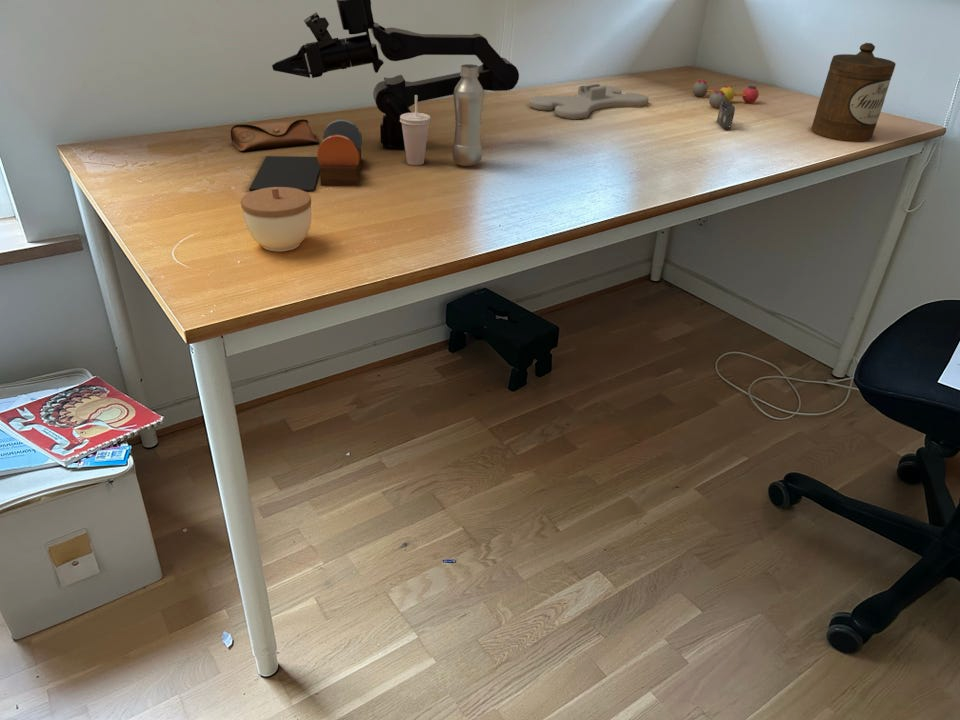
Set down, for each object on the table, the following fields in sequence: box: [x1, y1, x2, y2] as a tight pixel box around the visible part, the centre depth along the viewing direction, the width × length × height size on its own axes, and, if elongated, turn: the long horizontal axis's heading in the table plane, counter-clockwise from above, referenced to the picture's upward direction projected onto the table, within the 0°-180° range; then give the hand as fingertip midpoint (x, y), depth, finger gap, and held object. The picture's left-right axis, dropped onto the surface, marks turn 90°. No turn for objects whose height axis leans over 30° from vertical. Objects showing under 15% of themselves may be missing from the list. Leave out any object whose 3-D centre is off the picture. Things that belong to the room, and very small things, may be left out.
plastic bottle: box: [451, 63, 485, 167], centre depth 152 cm, size 6×7×20 cm
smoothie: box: [400, 95, 431, 166], centre depth 153 cm, size 6×6×14 cm
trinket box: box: [240, 187, 312, 253], centre depth 117 cm, size 11×11×9 cm
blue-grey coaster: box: [322, 119, 363, 150], centre depth 152 cm, size 1×8×8 cm, turn 95°
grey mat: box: [248, 155, 320, 192], centre depth 147 cm, size 12×20×1 cm, turn 5°
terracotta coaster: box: [316, 135, 359, 166], centre depth 142 cm, size 1×8×8 cm, turn 95°
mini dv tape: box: [716, 99, 736, 131], centre depth 191 cm, size 8×2×6 cm, turn 179°
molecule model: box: [692, 79, 760, 109], centre depth 214 cm, size 18×17×5 cm
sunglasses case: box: [230, 118, 319, 152], centre depth 164 cm, size 18×7×7 cm
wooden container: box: [811, 42, 897, 142], centre depth 185 cm, size 15×15×22 cm
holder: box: [528, 83, 649, 120], centre depth 204 cm, size 19×34×5 cm, turn 130°
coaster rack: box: [319, 148, 363, 187], centre depth 149 cm, size 16×7×4 cm, turn 5°
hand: (274, 66), depth 152 cm, fingers open, 9 cm apart
